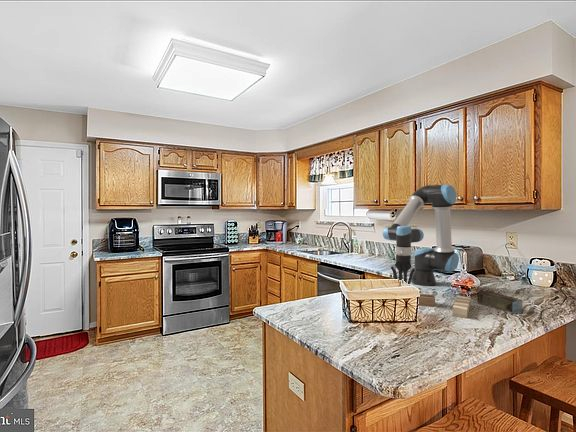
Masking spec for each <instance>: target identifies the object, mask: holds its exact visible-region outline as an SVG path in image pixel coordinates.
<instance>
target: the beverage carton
mask: <svg viewBox="0 0 576 432" xmlns="http://www.w3.org/2000/svg"><path fill="white" fill-rule="evenodd" d="M476 293H477V294H476V302H477V303H478V304H481V305H485V306H487V307H491V308H494V309H498V310H501V311H503V310H504V312H508V313H510V312H511V314H514V313H522V312H523V300H522V299H519V298H516V297H512V296H509V295H506V294H502V293H498V292H494V291H491V290H481V291H478V292H476Z"/></svg>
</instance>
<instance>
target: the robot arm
mask: <svg viewBox="0 0 576 432" xmlns="http://www.w3.org/2000/svg"><path fill="white" fill-rule="evenodd" d="M456 202H457V192H456V189H455V187H454V186H453V185H451V184H432V185H431V184H428V185H423V186H421V187H420V188H418V189H417V190H416V191H414V192H413V193H412V194H411V196H409V198H408V201H407V203H406V205H405V206H404V208H403V209H402V210H401V212H400V213H399V214H398V216H397V218H396V219H395V220H394V221H393V223H392V224H391V226H387V227H384V229H383V230H382V237H383V239H385V240H387V241H396V244H395V248H396V251H395V253H396V255H395V263H394V265H392V266H390V269H391V271H392V273H393V278H394V279H398V281H399V280H402V281H403V282H404V281H405V282H406V283H408V284H410V285H411V284H415V285H417V286H423V287H424V286H427V287H428V286H433V287H434V286H436V285H437V279H436V278H435V274H434V270H438V271H443V272H450V273H451V272H455V270H456V269H457V268H458V267H459V262H460V256H459V254H458V253H457V252H456V251H455V250H456V249H455V248H454V247H452V246H453V245H452V225H451V224H452V220H451V219H452V217H451V209H452V208H453V206H454V204H456ZM429 204H431V208H432V209H434V216H435V218H434V220H435V221H434V222H435V233H436V235H435V238H436V239H435V241H436V247H435V248H431V247H430V248H429V247H425V248H423V247H422V248H416V249H415V251H414V263H413V265H414V267H413V265H412V263H411V261H412V260H411V254H412V243H419V242H421V241H422V240H423V239H424V231H423V230H422V229H420V228H412V227H411V226H410V225H409V224H410V223H411V222H412V220H413V218H414V217H415V216H416V214H417V213H418V211H419V210H420V209H421V208H423V207H424V205H429ZM397 270H398V272H397ZM409 270H410V273H409V276H408V272H409Z"/></svg>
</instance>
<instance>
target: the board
mask: <svg viewBox="0 0 576 432" xmlns="http://www.w3.org/2000/svg"><path fill="white" fill-rule="evenodd" d="M471 304H472V297H470V296H463V295H462V296H461V295H457V296H456V299H455V301H454V304H453V306H452V311H451V312H452V317H458V318H464V319H467V318H468V315H469V313H470V309H471Z"/></svg>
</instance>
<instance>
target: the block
mask: <svg viewBox="0 0 576 432" xmlns="http://www.w3.org/2000/svg"><path fill="white" fill-rule="evenodd" d="M419 294H420V297H419V305H418V306H422V307H423V306H425V307H436V297H435V296H434V294H430V293H429V294H427V293H425V294H424V293H419Z"/></svg>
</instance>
